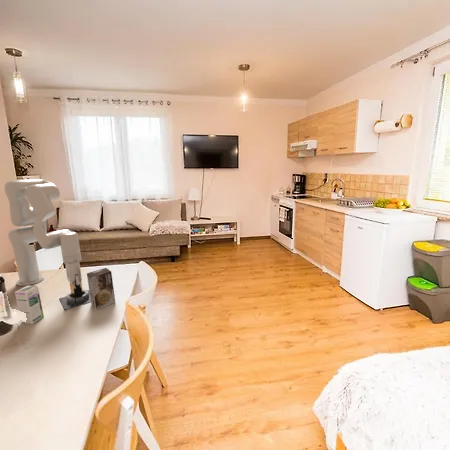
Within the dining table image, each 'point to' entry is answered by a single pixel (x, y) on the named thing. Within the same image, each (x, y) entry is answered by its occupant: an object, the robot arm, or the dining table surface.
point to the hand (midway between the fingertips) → (77, 293)
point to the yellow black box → (73, 289)
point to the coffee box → (101, 288)
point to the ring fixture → (75, 300)
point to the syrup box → (29, 303)
